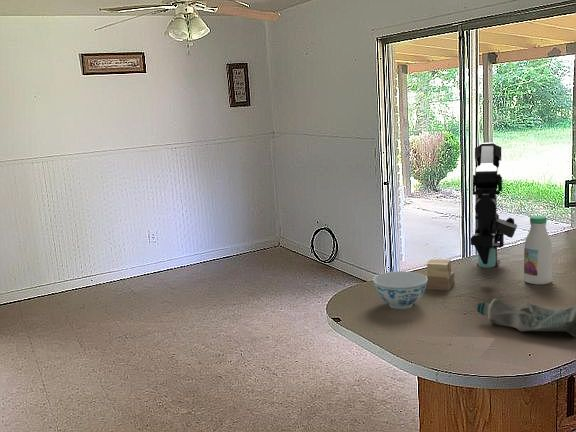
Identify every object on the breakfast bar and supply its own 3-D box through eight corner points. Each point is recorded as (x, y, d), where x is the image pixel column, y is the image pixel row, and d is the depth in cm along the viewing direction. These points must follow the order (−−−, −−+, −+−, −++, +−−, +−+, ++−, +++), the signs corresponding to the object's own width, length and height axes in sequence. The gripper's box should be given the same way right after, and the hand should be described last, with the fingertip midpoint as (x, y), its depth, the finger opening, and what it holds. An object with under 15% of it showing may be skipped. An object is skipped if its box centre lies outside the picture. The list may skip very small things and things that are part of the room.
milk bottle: (546, 277, 188) (547, 213, 184) (555, 284, 180) (556, 218, 177) (520, 278, 189) (521, 215, 185) (528, 285, 181) (528, 220, 177)
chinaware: (428, 314, 163) (428, 287, 162) (372, 314, 166) (371, 287, 165) (427, 296, 178) (426, 271, 176) (375, 296, 181) (374, 271, 179)
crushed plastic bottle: (589, 326, 148) (486, 309, 162) (590, 299, 146) (486, 284, 160) (579, 350, 138) (470, 330, 152) (580, 321, 136) (470, 304, 150)
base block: (430, 282, 192) (430, 270, 191) (454, 284, 188) (454, 271, 187) (423, 289, 185) (423, 276, 184) (448, 291, 182) (448, 278, 181)
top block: (431, 270, 190) (431, 258, 189) (450, 271, 187) (450, 259, 187) (427, 276, 185) (426, 263, 184) (447, 277, 182) (447, 264, 181)
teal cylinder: (479, 262, 189) (479, 246, 188) (496, 263, 186) (496, 247, 185) (476, 266, 184) (476, 250, 183) (494, 267, 182) (494, 251, 181)
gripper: (510, 218, 170) (510, 272, 173) (519, 206, 187) (518, 255, 190) (469, 217, 176) (470, 269, 179) (481, 205, 192) (481, 253, 195)
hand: (486, 261), depth 185 cm, fingers closed on teal cylinder, 5 cm apart
